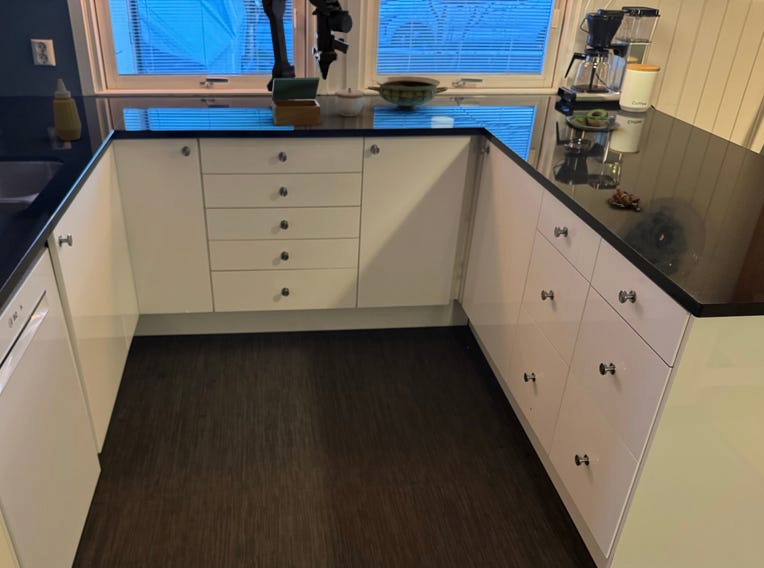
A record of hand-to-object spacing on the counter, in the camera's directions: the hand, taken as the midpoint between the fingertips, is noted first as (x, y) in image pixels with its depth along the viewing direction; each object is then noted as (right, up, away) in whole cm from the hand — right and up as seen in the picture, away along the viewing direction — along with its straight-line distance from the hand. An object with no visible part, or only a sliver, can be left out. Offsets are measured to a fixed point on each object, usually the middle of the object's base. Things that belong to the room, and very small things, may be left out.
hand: (324, 79), depth 244 cm
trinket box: (+9, -9, +11) cm, 17 cm away
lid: (-10, -6, -4) cm, 12 cm away
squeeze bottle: (-82, -29, -23) cm, 90 cm away
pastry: (+74, -61, -73) cm, 120 cm away
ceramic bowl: (+32, -3, +21) cm, 38 cm away
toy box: (-10, -15, 0) cm, 18 cm away
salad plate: (+95, -17, -2) cm, 96 cm away
